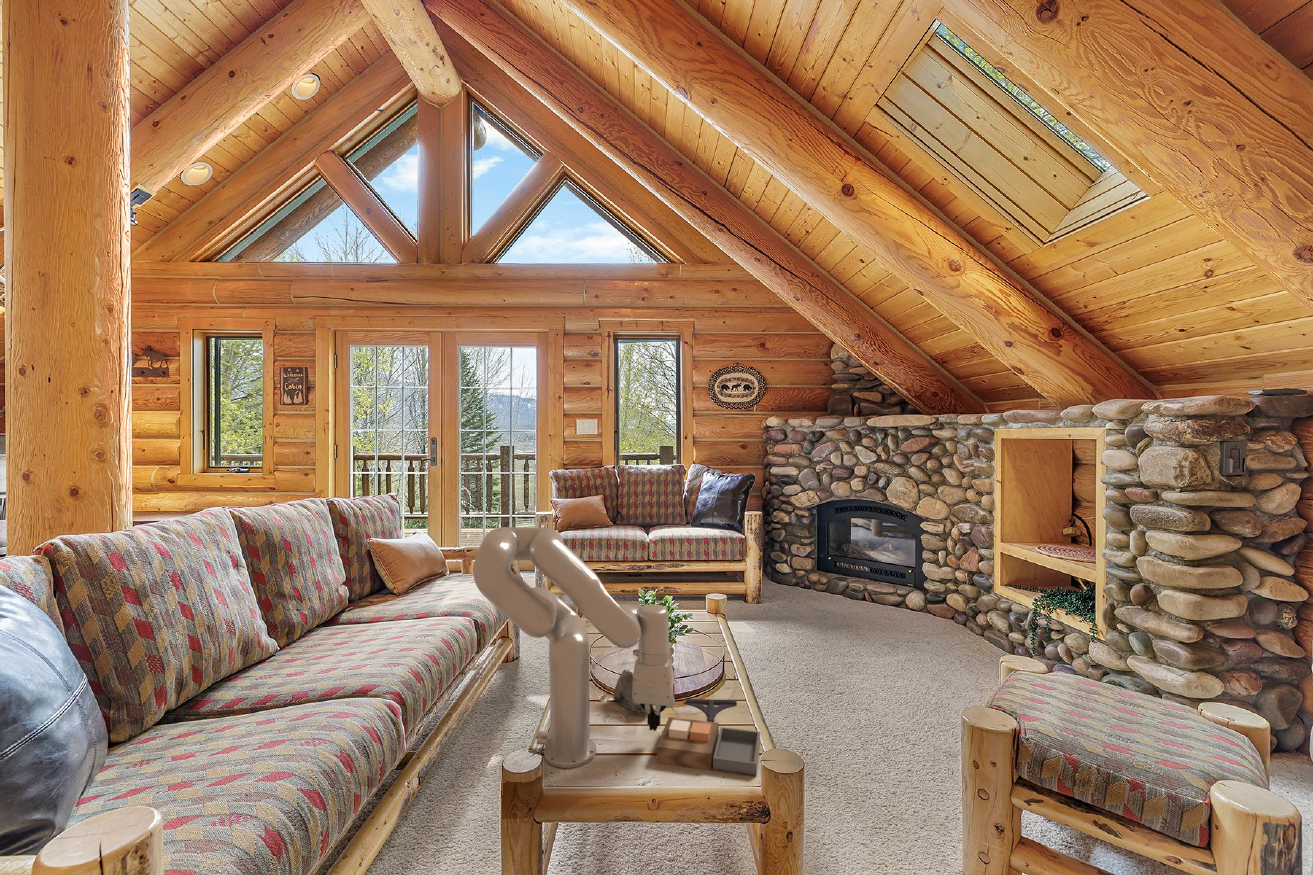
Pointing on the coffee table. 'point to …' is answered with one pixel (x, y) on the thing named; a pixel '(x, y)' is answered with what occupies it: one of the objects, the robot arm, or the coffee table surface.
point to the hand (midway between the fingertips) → (654, 727)
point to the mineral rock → (626, 691)
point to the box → (737, 751)
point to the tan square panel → (687, 748)
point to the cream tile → (679, 729)
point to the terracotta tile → (700, 732)
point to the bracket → (711, 706)
